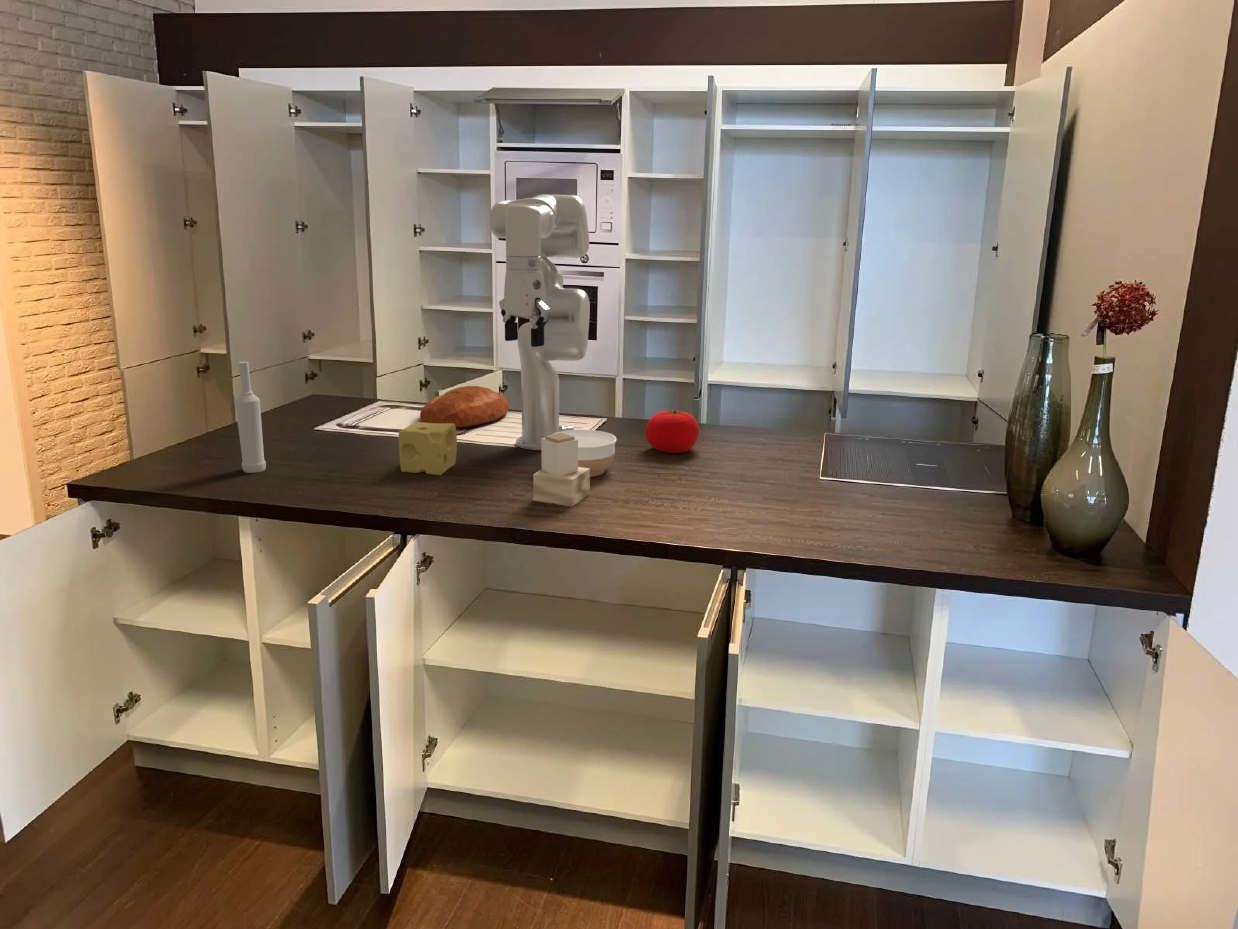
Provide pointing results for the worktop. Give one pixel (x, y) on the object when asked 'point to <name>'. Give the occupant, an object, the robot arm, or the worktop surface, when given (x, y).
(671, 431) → the tomato
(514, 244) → the robot arm
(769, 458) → the worktop surface
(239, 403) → the bottle
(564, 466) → the white cube
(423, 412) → the bread
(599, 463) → the bowl
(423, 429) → the cheese
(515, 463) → the worktop surface
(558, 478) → the block
